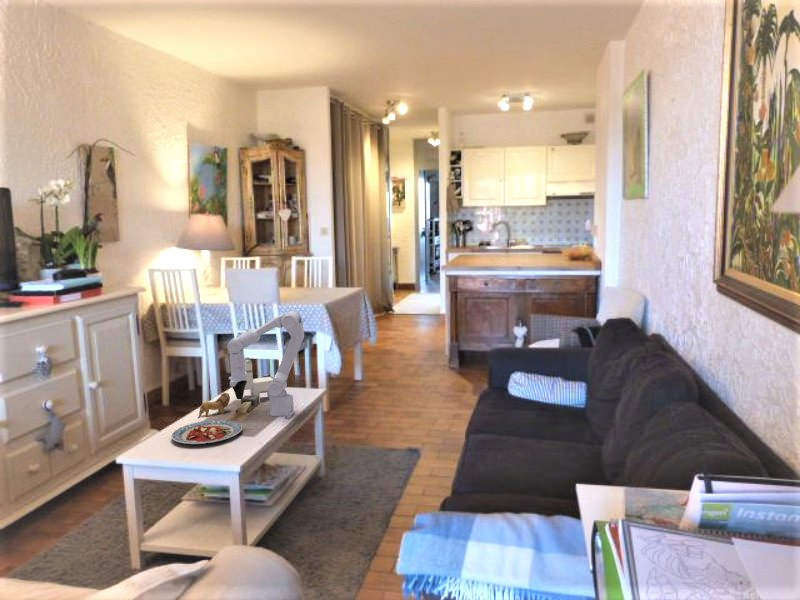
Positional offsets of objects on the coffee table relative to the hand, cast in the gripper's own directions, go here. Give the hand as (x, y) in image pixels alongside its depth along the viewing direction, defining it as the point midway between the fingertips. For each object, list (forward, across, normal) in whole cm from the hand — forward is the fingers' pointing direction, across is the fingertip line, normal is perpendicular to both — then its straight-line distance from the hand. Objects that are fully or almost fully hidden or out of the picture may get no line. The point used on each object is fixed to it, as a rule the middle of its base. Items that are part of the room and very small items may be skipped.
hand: (239, 398), depth 257 cm
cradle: (+7, -3, 0) cm, 8 cm away
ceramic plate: (+8, +24, -5) cm, 25 cm away
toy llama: (+8, -20, +2) cm, 22 cm away
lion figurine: (+8, 0, -11) cm, 14 cm away
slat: (+7, -7, 0) cm, 10 cm away
